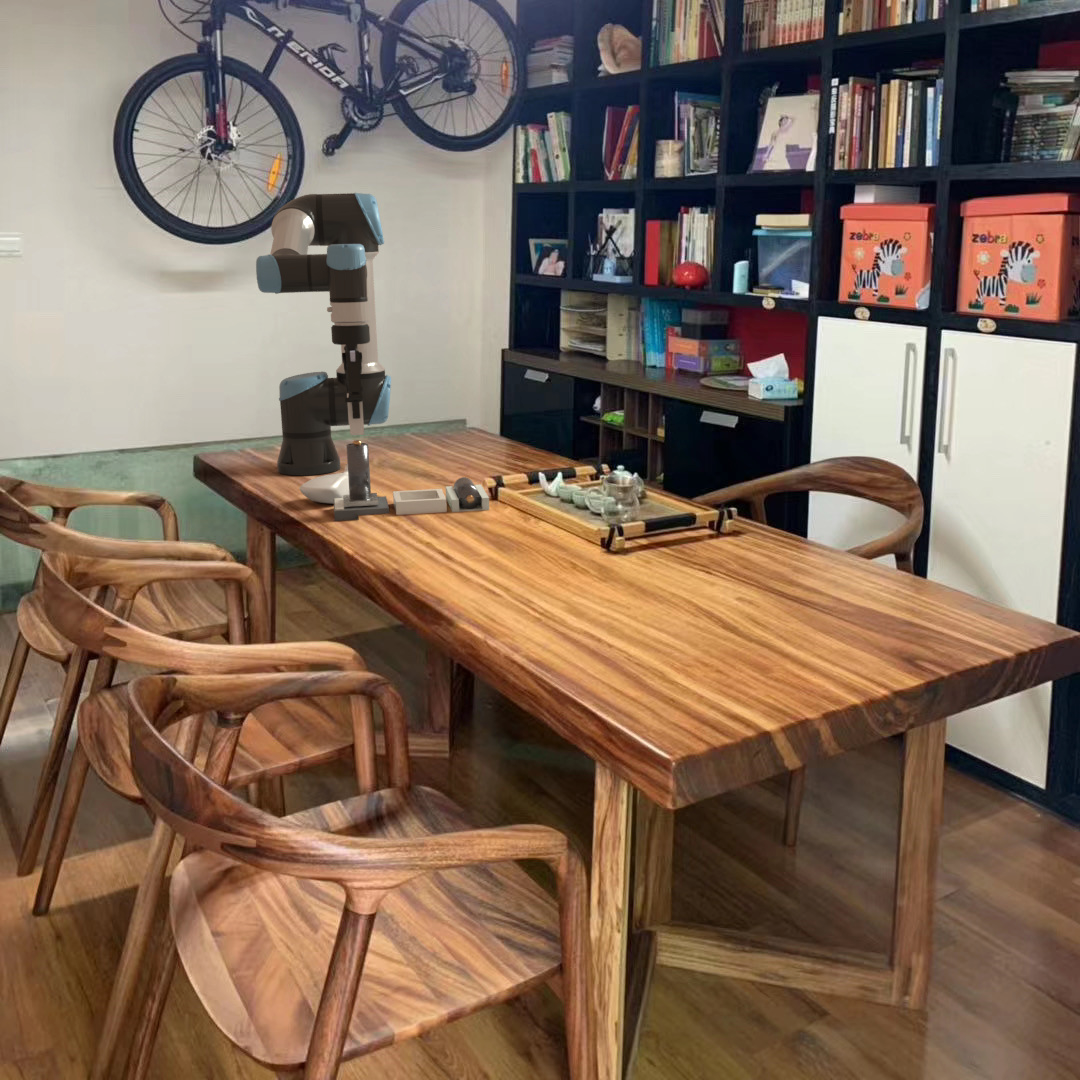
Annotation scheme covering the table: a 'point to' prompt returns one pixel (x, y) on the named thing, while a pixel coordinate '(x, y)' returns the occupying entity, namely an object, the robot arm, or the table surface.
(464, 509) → the trough
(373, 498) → the plate
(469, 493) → the cell
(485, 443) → the table surface
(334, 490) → the white rounded lump
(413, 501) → the white square tray
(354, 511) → the grey square base pad
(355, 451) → the cell
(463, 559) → the table surface
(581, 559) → the table surface
